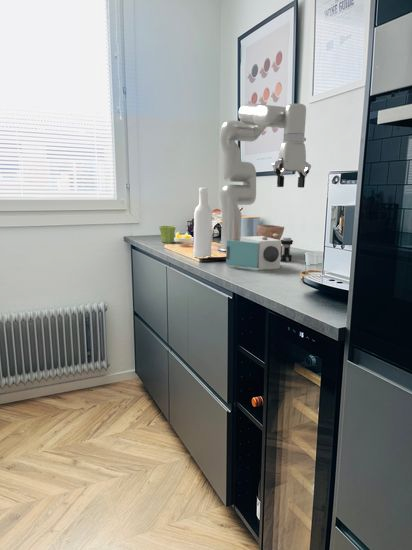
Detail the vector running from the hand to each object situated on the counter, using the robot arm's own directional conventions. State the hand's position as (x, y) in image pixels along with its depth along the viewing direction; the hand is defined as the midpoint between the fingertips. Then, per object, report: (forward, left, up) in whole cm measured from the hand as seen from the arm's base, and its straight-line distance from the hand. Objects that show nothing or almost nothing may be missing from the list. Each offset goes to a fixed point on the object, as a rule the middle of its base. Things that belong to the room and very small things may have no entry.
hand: (290, 187), depth 156 cm
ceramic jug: (-24, +8, -31) cm, 40 cm away
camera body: (-7, -8, -31) cm, 33 cm away
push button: (-12, +8, -31) cm, 34 cm away
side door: (-5, -17, -30) cm, 35 cm away
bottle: (-33, -21, -31) cm, 50 cm away
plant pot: (-81, -19, -31) cm, 89 cm away
